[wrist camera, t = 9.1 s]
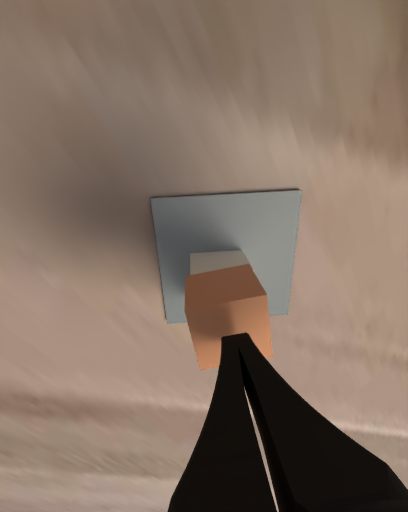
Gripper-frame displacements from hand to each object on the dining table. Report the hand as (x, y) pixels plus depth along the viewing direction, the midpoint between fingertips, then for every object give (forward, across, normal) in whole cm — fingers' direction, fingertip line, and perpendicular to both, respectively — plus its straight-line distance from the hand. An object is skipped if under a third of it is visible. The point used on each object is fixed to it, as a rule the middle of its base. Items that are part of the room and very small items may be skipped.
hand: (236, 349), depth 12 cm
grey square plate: (+10, -1, 0) cm, 10 cm away
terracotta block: (+5, 0, 0) cm, 5 cm away
